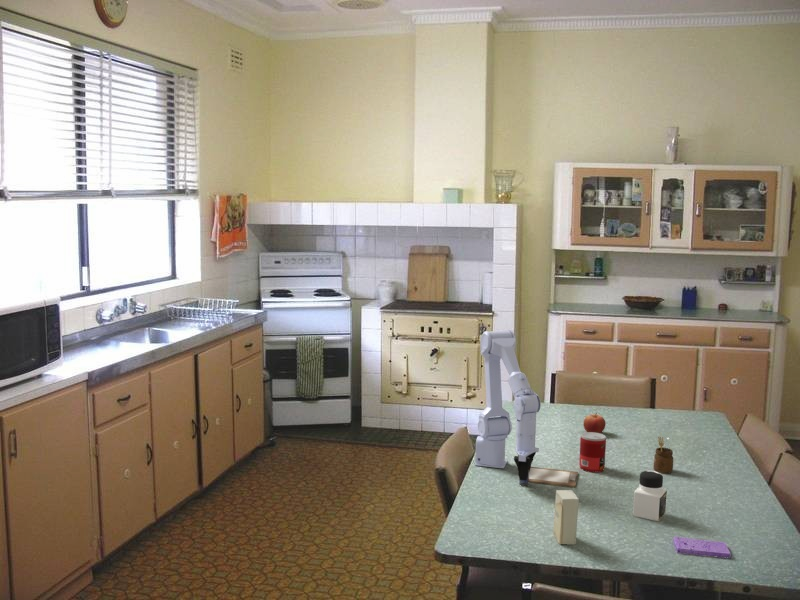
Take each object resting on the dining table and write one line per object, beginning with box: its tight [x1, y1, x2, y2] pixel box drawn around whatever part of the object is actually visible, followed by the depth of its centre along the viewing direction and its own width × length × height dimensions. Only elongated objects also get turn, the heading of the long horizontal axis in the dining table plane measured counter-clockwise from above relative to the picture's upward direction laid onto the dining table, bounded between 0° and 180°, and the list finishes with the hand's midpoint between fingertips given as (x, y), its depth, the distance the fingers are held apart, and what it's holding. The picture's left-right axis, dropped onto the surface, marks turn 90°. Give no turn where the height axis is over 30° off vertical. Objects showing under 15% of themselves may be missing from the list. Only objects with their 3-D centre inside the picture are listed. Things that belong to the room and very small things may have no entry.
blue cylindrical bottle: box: [518, 458, 530, 487], centre depth 239 cm, size 3×3×8 cm
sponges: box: [672, 536, 732, 559], centre depth 196 cm, size 7×13×2 cm, turn 78°
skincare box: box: [552, 489, 580, 546], centre depth 200 cm, size 6×4×12 cm
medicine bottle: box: [632, 470, 667, 522], centre depth 217 cm, size 7×7×12 cm
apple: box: [583, 412, 607, 434], centre depth 293 cm, size 8×8×8 cm
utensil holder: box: [653, 435, 674, 475], centre depth 253 cm, size 6×6×12 cm
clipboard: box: [529, 466, 579, 488], centre depth 246 cm, size 16×13×1 cm
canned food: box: [578, 431, 607, 473], centre depth 254 cm, size 8×8×11 cm
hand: (524, 477), depth 239 cm, fingers open, 4 cm apart
